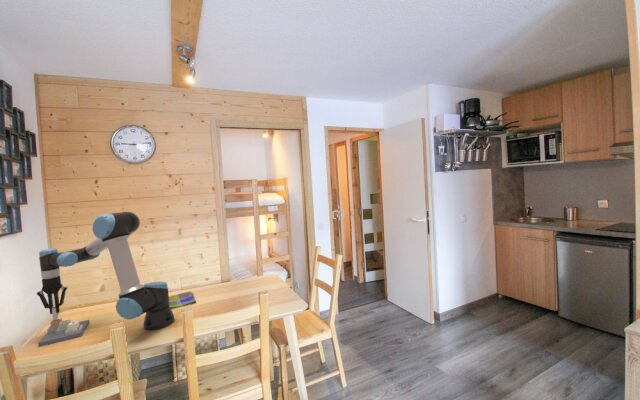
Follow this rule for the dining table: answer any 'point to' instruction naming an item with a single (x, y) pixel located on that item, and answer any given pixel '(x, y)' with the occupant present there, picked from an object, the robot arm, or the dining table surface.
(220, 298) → the dining table surface
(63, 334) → the button board
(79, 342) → the dining table surface
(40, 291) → the robot arm
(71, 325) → the cream tile
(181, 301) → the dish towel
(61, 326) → the sage tile
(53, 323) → the terracotta tile
